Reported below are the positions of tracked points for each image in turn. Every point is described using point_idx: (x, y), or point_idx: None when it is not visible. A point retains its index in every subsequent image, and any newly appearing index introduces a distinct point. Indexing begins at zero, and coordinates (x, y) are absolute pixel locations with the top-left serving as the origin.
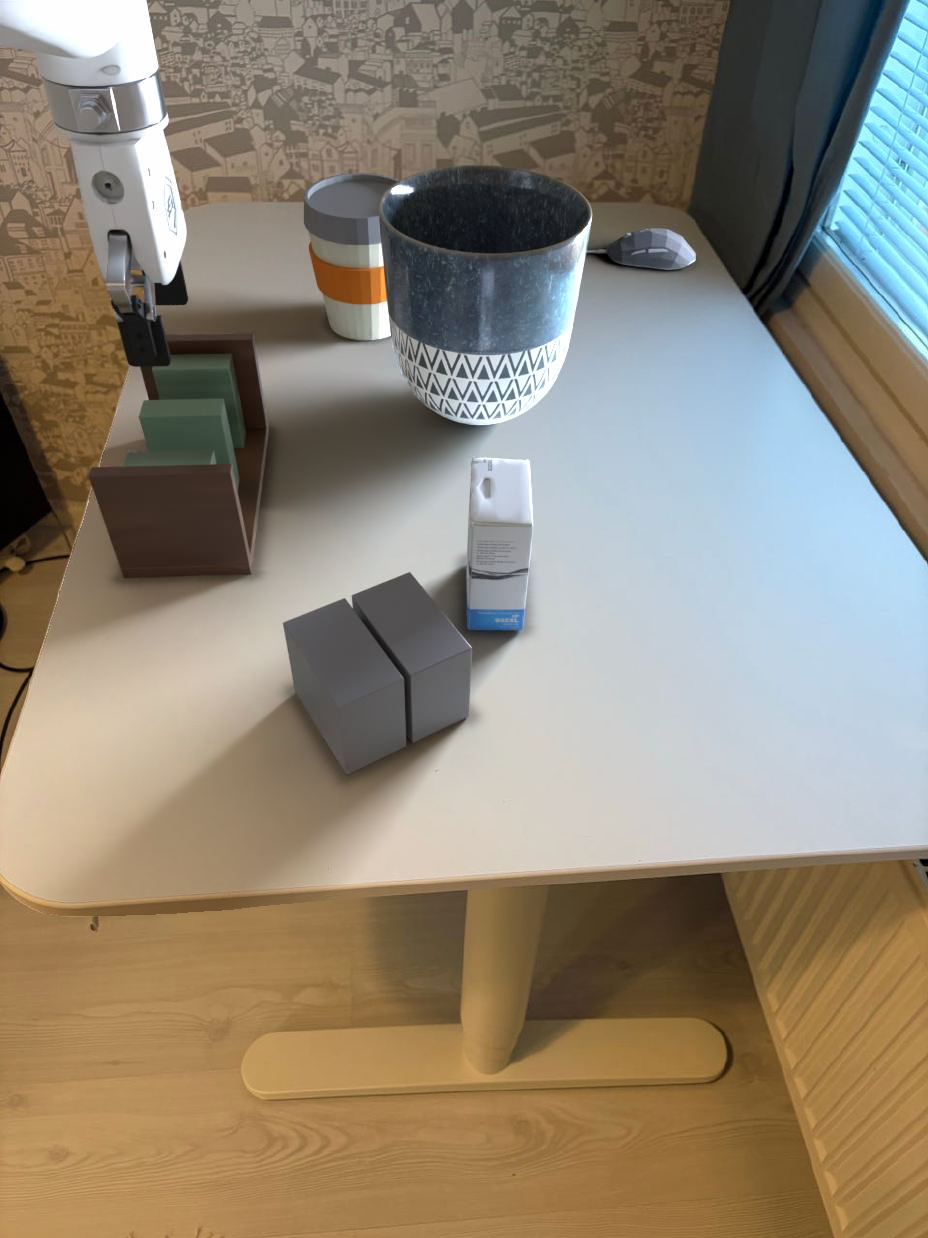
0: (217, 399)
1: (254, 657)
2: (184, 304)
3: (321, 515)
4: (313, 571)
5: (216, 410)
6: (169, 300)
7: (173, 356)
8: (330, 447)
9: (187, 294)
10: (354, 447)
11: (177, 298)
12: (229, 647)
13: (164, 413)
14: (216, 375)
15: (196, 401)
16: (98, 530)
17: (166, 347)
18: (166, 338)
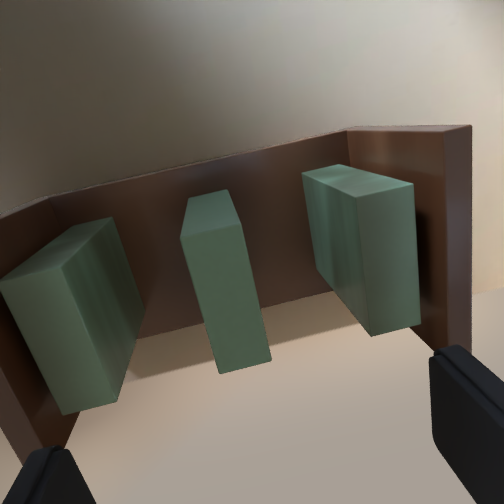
0: (187, 248)
1: (491, 78)
2: (62, 448)
3: (223, 53)
4: (344, 36)
5: (225, 237)
6: (80, 498)
7: (57, 386)
8: (44, 80)
9: (23, 468)
10: (29, 33)
11: (67, 484)
12: (474, 115)
13: (254, 325)
14: (78, 287)
15: (204, 285)
16: (296, 331)
17: (502, 381)
18: (496, 402)
